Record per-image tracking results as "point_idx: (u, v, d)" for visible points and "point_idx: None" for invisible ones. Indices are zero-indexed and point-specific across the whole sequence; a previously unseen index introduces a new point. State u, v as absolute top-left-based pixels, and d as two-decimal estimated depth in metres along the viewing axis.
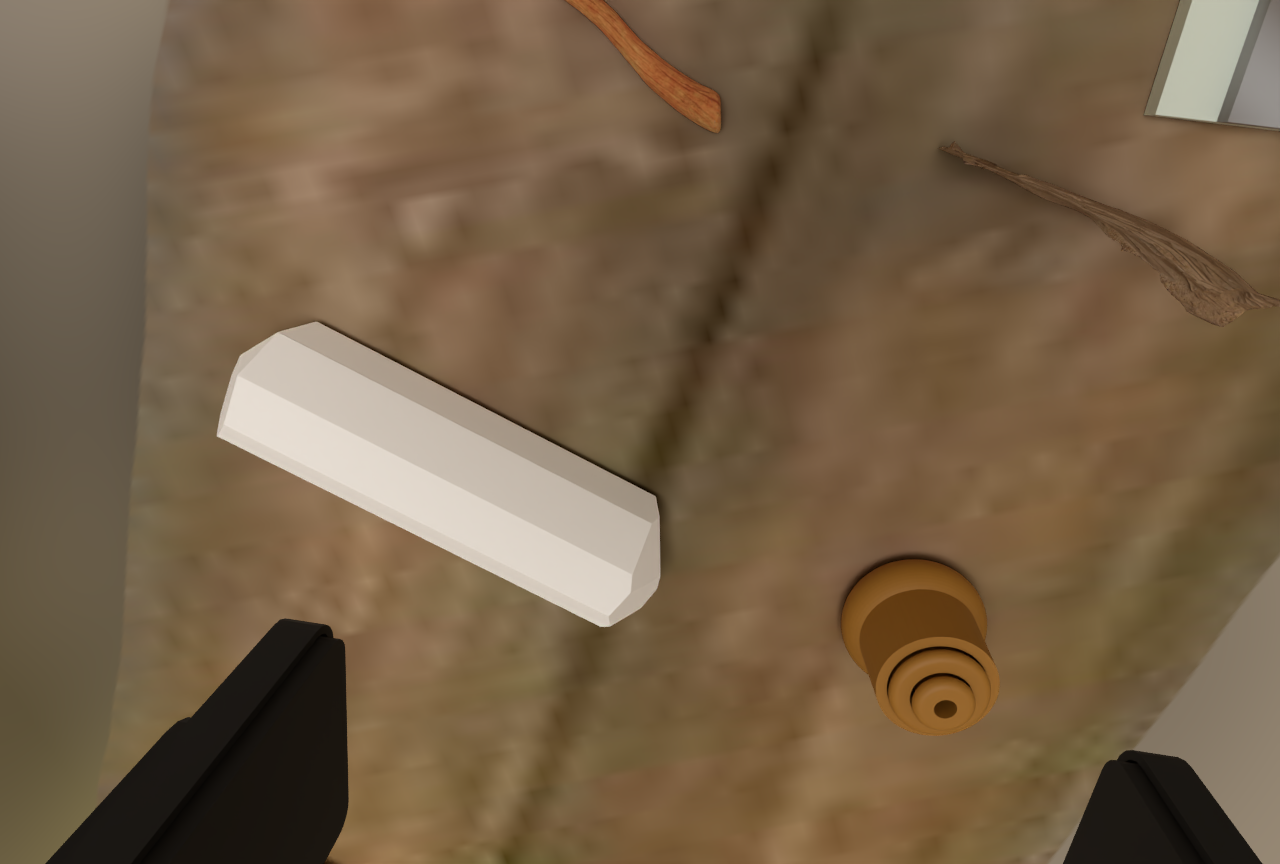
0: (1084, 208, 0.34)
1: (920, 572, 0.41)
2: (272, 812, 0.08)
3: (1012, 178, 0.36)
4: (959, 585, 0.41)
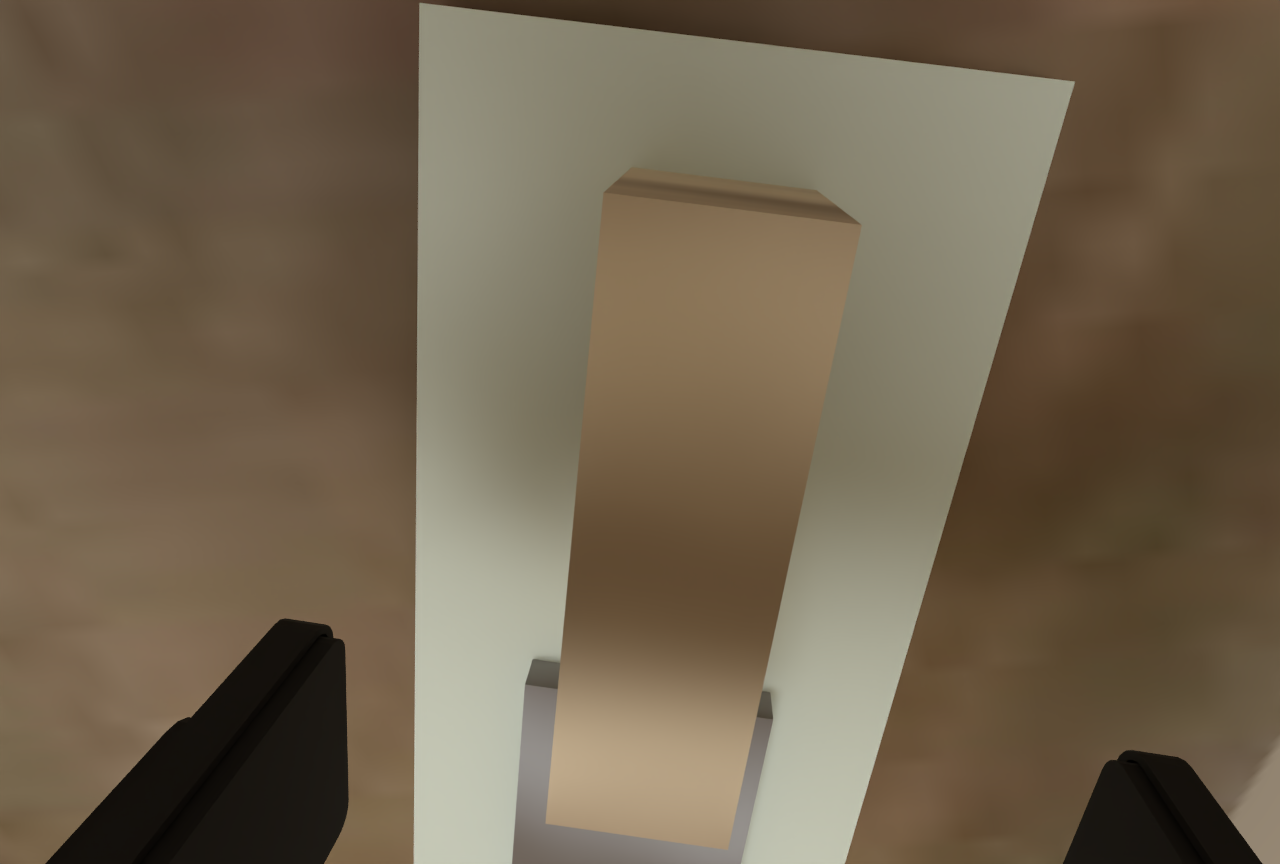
0: None
1: None
2: (272, 812, 0.08)
3: None
4: None
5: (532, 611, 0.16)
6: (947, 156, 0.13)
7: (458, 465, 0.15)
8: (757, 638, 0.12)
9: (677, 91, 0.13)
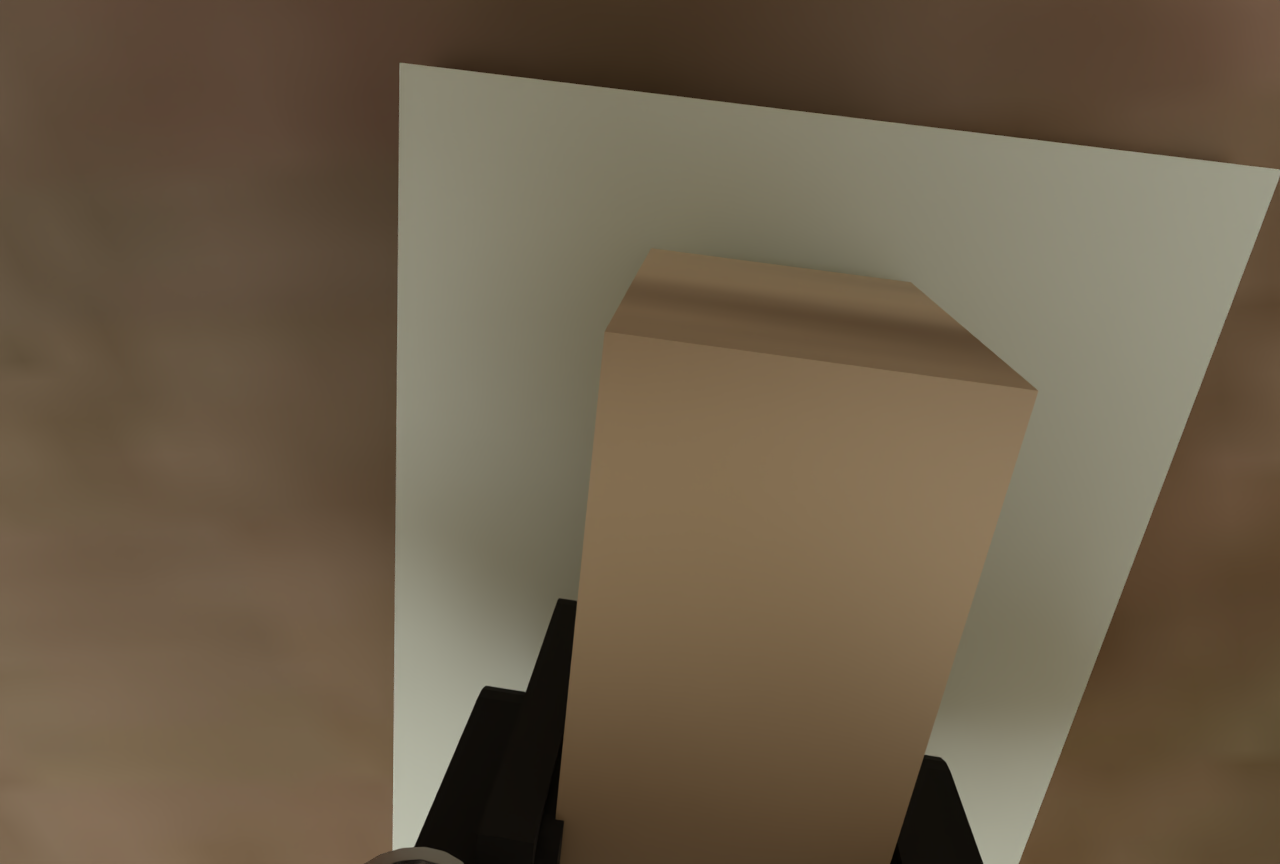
0: None
1: None
2: None
3: None
4: None
5: None
6: (1098, 265, 0.09)
7: (447, 630, 0.12)
8: None
9: (736, 177, 0.09)
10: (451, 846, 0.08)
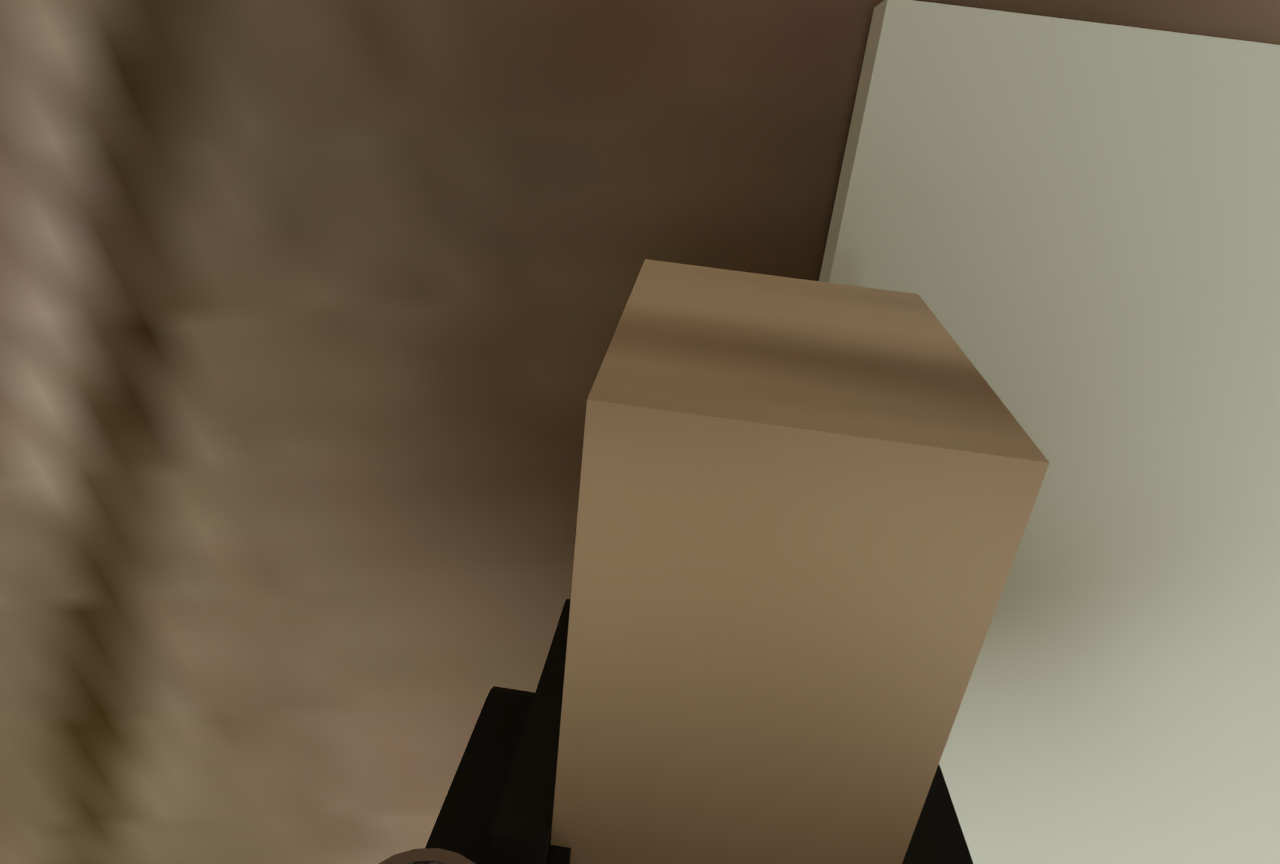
0: None
1: None
2: None
3: None
4: None
5: None
6: None
7: None
8: None
9: (1194, 106, 0.10)
10: (462, 847, 0.08)
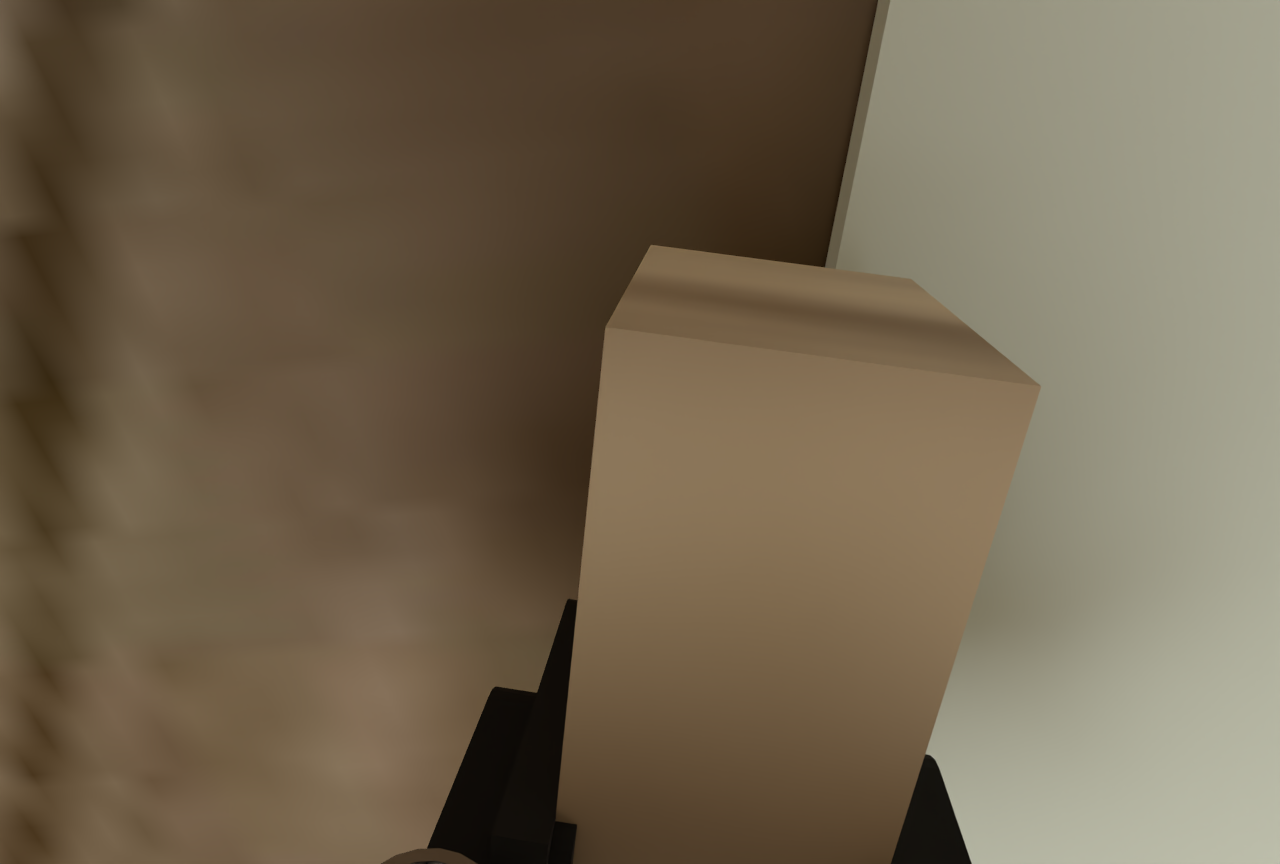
0: None
1: None
2: None
3: None
4: None
5: (1011, 284, 0.11)
6: None
7: (949, 28, 0.10)
8: None
9: None
10: (464, 847, 0.08)
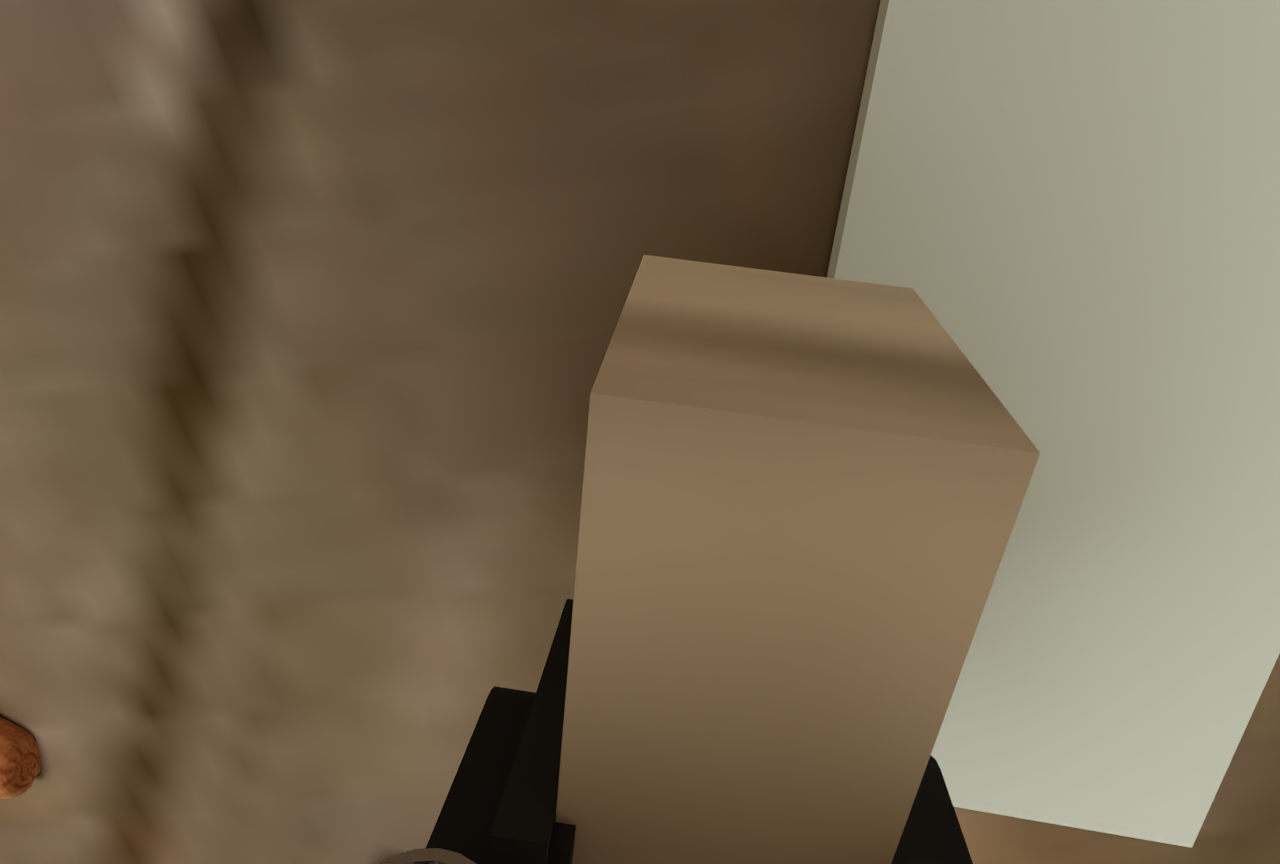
0: None
1: None
2: None
3: None
4: None
5: (971, 292, 0.14)
6: None
7: (919, 97, 0.13)
8: None
9: None
10: (463, 847, 0.08)
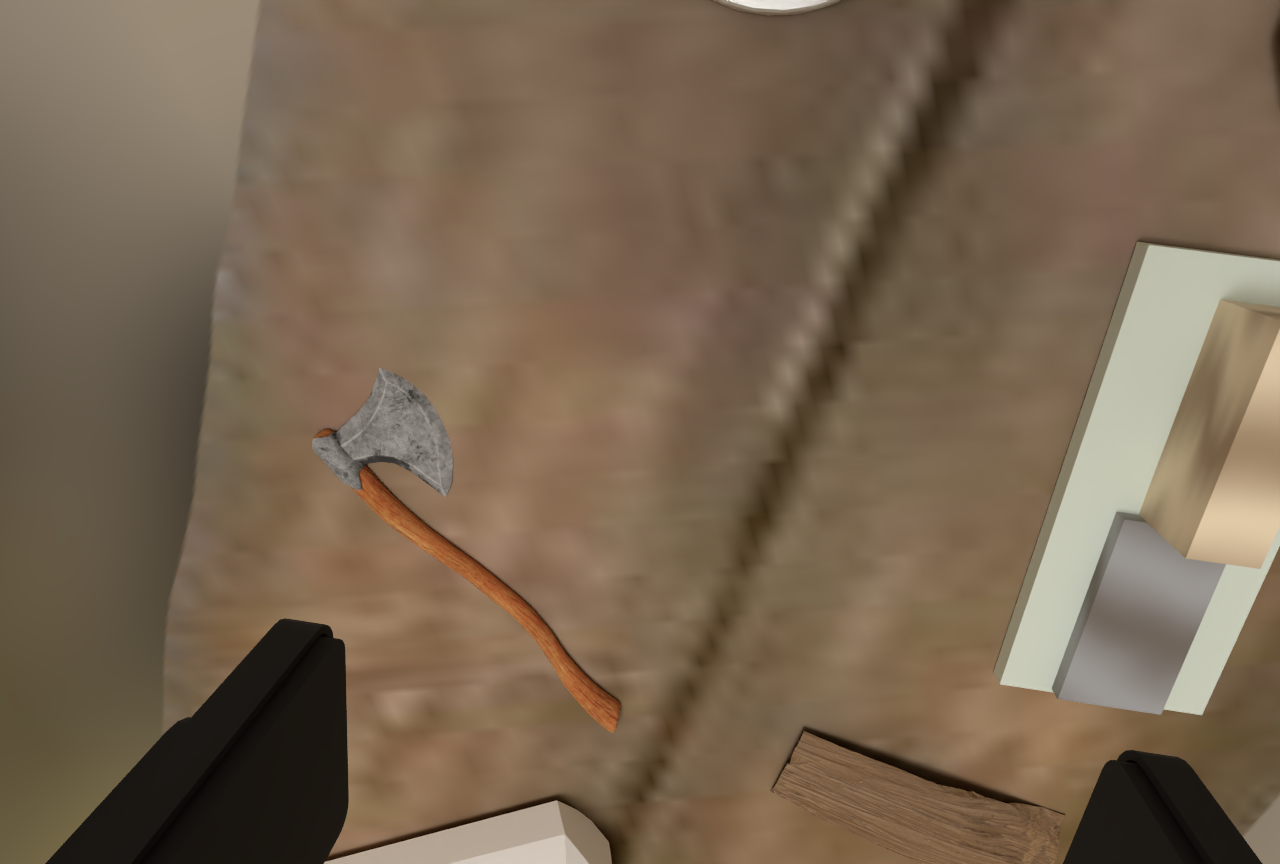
0: (901, 804, 0.44)
1: None
2: (272, 812, 0.08)
3: (862, 763, 0.43)
4: None
5: (1121, 491, 0.37)
6: None
7: (1107, 424, 0.36)
8: None
9: (1244, 277, 0.33)
10: None
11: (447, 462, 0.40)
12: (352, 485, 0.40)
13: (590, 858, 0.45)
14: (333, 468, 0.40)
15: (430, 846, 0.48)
